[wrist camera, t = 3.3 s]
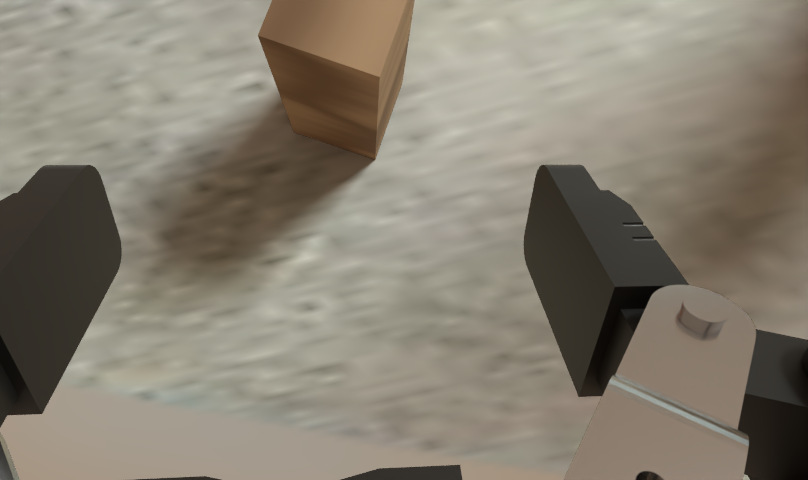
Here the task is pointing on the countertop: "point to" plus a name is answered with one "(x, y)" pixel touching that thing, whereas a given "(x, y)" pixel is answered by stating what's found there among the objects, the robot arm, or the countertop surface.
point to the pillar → (338, 66)
